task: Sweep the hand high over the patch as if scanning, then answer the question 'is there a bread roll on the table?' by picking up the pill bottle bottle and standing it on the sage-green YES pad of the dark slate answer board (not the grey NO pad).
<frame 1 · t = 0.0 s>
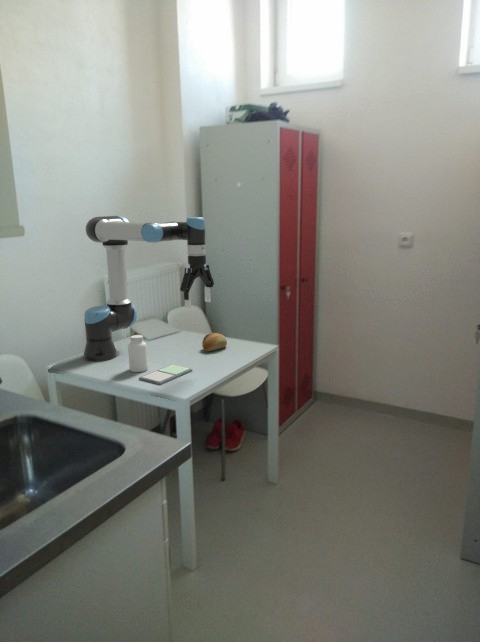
hand: (198, 304, 217), 28 cm above the table, fingers open, 13 cm apart
answer board: (166, 375, 213), on the table
bread roll: (214, 349, 250), on the table
pill bottle: (138, 370, 221), on the table
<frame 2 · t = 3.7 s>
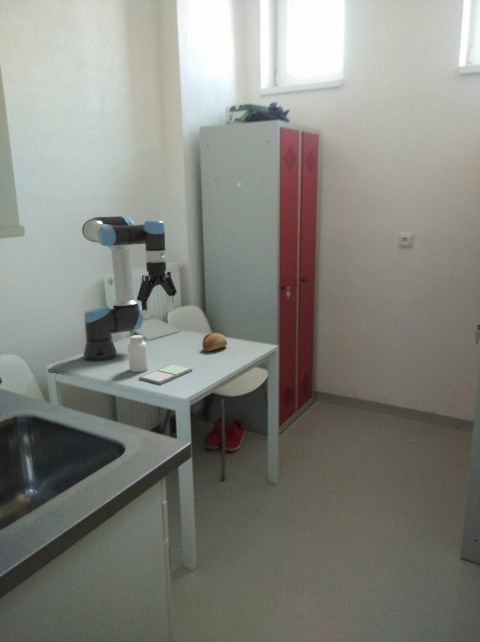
hand: (158, 314, 201), 27 cm above the table, fingers open, 13 cm apart
nothing on the table moved.
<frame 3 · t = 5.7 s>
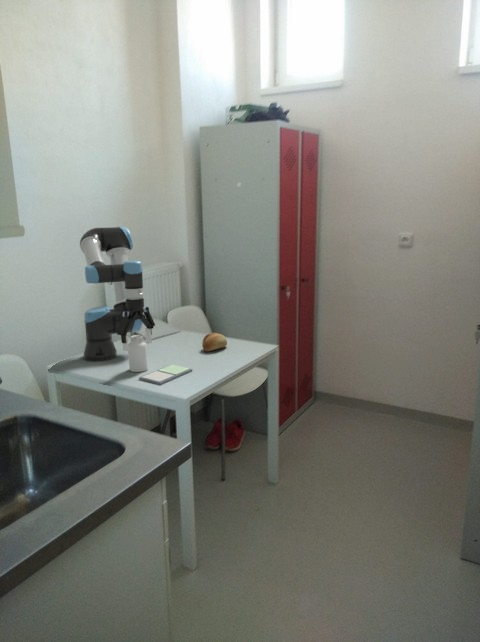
hand: (137, 346, 218), 10 cm above the table, fingers open, 13 cm apart
nothing on the table moved.
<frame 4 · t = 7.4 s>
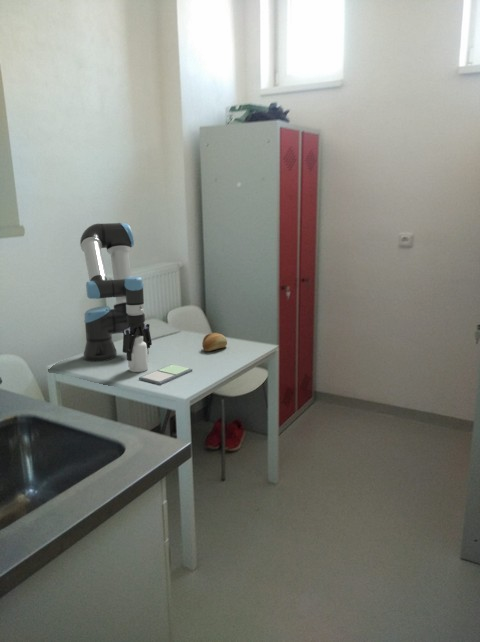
hand: (138, 364, 220), 2 cm above the table, fingers closed on pill bottle, 8 cm apart
pill bottle: (138, 370, 221), on the table, touching gripper
everything else where it was.
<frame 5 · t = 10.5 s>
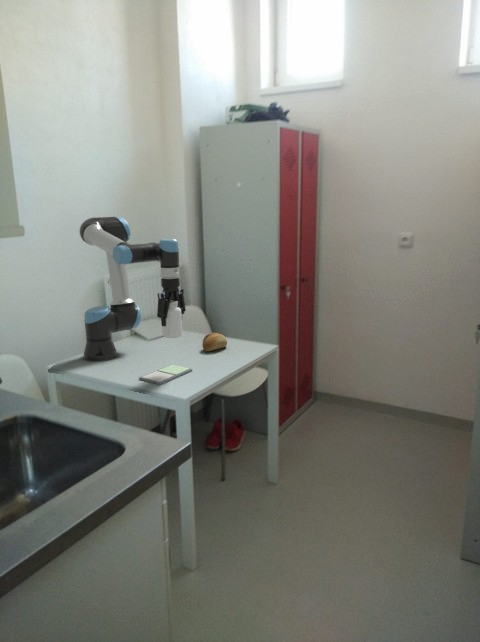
hand: (172, 331, 213), 18 cm above the table, fingers closed on pill bottle, 8 cm apart
pill bottle: (172, 336, 214), point 16 cm above the table, touching gripper
everything else where it was.
when the fingers open (5 cm above the table, at t = 13.6 s): pill bottle drops 1 cm, resting on answer board.
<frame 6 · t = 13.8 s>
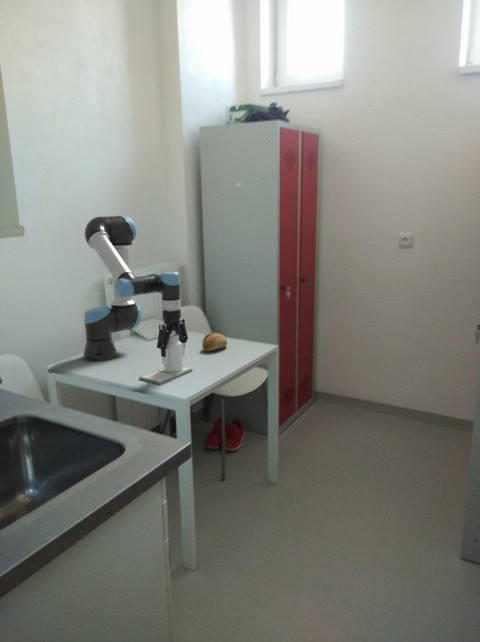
hand: (173, 360, 216), 5 cm above the table, fingers open, 10 cm apart
pill bottle: (173, 369, 217), point 1 cm above the table, touching answer board
everything else where it was.
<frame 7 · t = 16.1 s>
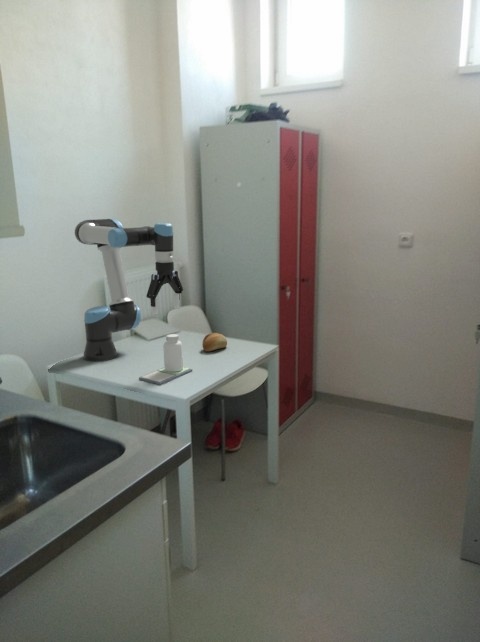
hand: (165, 311, 216), 26 cm above the table, fingers open, 13 cm apart
nothing on the table moved.
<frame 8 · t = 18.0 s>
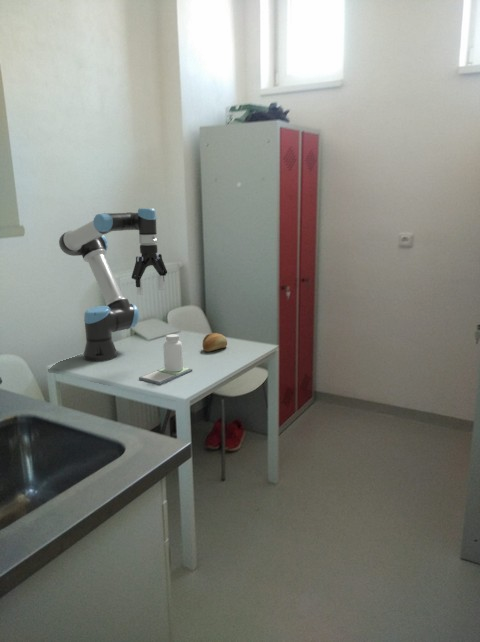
hand: (150, 292, 227), 32 cm above the table, fingers open, 13 cm apart
nothing on the table moved.
at the end: pill bottle inside the target area on the answer board (0.0 cm from its centre), point 0.9 cm above the answer board's base; pill bottle tilted 0°; the gripper is holding nothing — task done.
